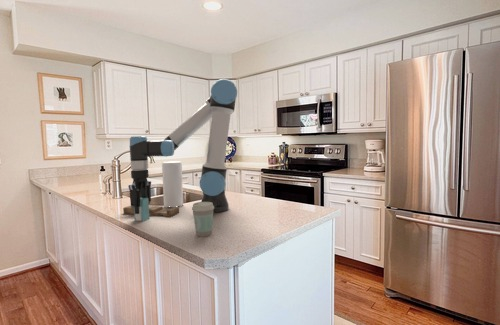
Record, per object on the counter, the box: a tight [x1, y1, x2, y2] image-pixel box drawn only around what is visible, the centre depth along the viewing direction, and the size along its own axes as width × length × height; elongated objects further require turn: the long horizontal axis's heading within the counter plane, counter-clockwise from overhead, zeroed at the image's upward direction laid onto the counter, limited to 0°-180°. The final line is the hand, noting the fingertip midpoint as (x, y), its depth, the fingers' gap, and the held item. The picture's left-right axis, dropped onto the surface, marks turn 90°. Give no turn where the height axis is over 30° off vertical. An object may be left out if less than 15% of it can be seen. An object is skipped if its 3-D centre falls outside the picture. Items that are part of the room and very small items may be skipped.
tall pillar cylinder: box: [161, 160, 184, 208], centre depth 157 cm, size 11×11×25 cm
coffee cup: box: [191, 201, 214, 238], centre depth 107 cm, size 9×9×12 cm
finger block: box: [133, 198, 150, 222], centre depth 130 cm, size 6×4×10 cm
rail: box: [122, 196, 180, 217], centre depth 141 cm, size 28×7×12 cm, turn 74°
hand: (142, 218), depth 130 cm, fingers closed on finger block, 4 cm apart
